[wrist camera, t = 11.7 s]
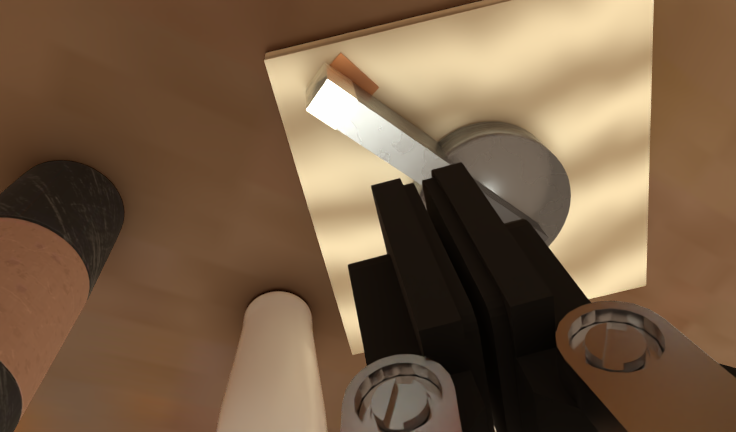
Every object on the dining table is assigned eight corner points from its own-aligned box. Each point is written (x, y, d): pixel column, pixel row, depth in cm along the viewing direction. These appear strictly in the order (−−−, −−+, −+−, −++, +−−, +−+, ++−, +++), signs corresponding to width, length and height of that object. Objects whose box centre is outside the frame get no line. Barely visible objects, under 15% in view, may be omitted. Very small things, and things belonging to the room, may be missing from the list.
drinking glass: (338, 310, 47) (353, 469, 33) (283, 360, 48) (277, 530, 35) (272, 264, 44) (261, 417, 31) (217, 319, 46) (184, 486, 33)
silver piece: (582, 172, 40) (616, 204, 36) (487, 273, 44) (508, 314, 39) (363, 4, 34) (372, 19, 29) (270, 139, 37) (266, 170, 32)
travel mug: (40, 133, 37) (-188, 333, 20) (149, 195, 40) (32, 417, 23) (-8, 219, 40) (-250, 463, 22) (97, 271, 43) (-45, 526, 25)
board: (265, 53, 37) (263, 61, 35) (637, -38, 36) (656, -34, 34) (350, 338, 48) (352, 356, 46) (633, 271, 48) (647, 286, 46)
